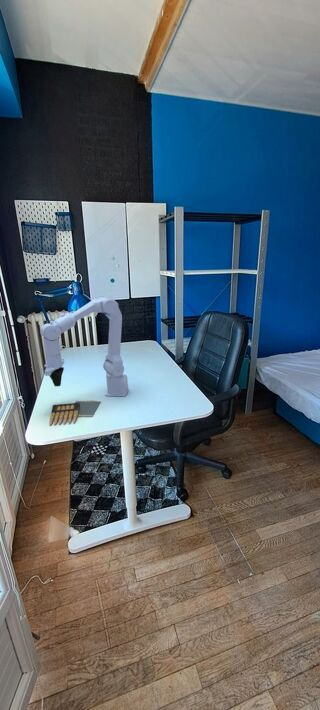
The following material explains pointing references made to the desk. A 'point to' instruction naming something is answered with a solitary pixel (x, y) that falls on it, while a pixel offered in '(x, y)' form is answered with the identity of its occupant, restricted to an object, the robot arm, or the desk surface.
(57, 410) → the ammunition clip
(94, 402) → the mat
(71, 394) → the desk surface
